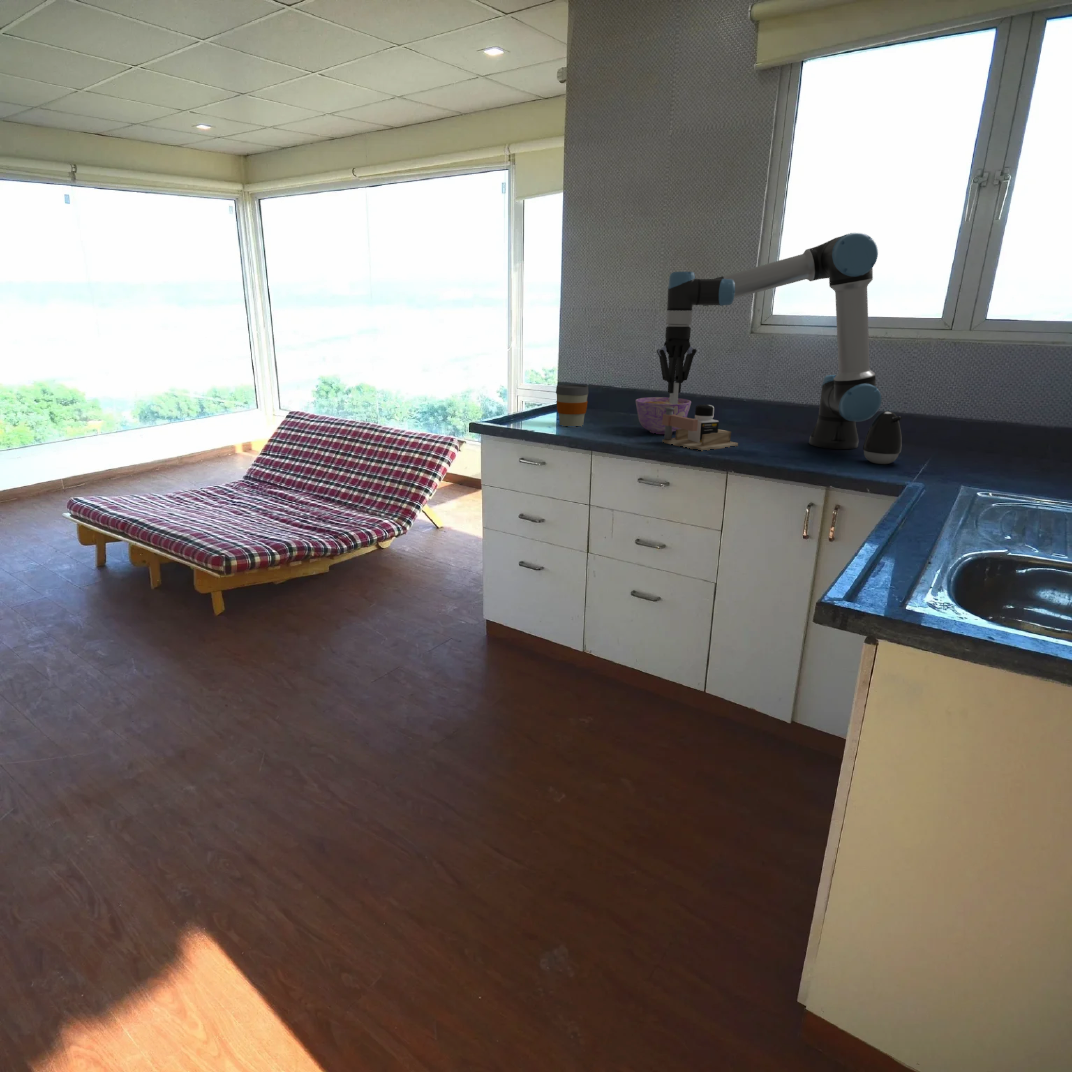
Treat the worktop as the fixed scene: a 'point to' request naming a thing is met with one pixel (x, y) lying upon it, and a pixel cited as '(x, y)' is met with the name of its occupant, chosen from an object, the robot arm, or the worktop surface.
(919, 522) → the worktop surface
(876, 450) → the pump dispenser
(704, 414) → the medicine bottle
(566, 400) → the reusable coffee cup
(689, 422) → the hammer
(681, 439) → the cradle
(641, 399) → the bowl of food
